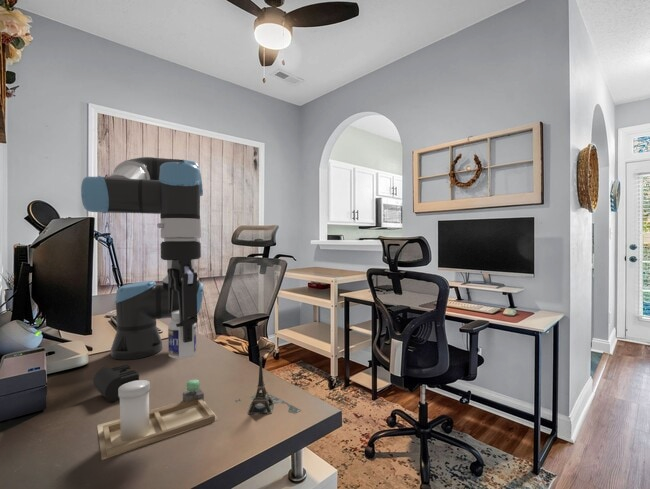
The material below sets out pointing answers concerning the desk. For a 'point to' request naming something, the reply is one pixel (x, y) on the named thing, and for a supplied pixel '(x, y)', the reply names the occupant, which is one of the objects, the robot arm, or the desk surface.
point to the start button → (193, 385)
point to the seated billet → (134, 409)
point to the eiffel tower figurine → (265, 399)
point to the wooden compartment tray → (159, 424)
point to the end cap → (113, 380)
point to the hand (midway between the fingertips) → (182, 352)
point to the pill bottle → (176, 336)
